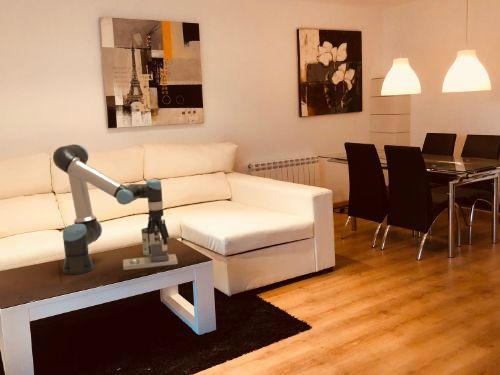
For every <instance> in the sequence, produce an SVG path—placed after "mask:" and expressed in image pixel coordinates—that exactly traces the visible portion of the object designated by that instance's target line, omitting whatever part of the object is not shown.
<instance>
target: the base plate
mask: <svg viewBox="0 0 500 375" xmlns="http://www.w3.org/2000/svg"><path fill="white" fill-rule="evenodd" d="M122 264H123V265H122V267H123V269H122V270H123V271H128V270H136V269H137V270H138V269H144V268H145V269H146V268H153V267H163V266H172V265H178V258H177V256H176V253H172V254H169V259H167V260H165V261H159V262H154V261H151V260H150V256H146V257H145V256H143V257H135V258H126V259H123V260H122Z"/></svg>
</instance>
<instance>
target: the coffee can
mask: <svg viewBox="0 0 500 375" xmlns="http://www.w3.org/2000/svg"><path fill="white" fill-rule="evenodd" d="M140 231H141V238H142V239H141V240H142V253H143V256H150V255H151V246H150V238H149V233H148V232H147V227H143V228H141V230H140ZM154 232H155V233H154V236H155V244H159V243H161V234H160V232H159V229H158V228H157V227H155V230H154Z"/></svg>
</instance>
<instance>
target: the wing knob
mask: <svg viewBox="0 0 500 375" xmlns="http://www.w3.org/2000/svg"><path fill="white" fill-rule="evenodd" d="M169 255H170V254H169V253H168V250H165V251H162V242H160V243H159V244H151V255H149V257H150V260H151V261H154V262H159V261H165V260H167V259H169Z"/></svg>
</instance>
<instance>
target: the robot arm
mask: <svg viewBox="0 0 500 375" xmlns="http://www.w3.org/2000/svg"><path fill="white" fill-rule="evenodd" d="M52 161H53V163H54V165H55V167H57V168H58V169H59V170H61V171H63V173H65V174H67V175H68V181H69V185H70V186H69V187H70V190H71V195H72V200H73V206H74V212H75V219H74V221H73V222H74V224H70V225H67V226H65V227H64V228H63V230H62V239H63V240H62V241H63V248H64V257H65V258H64V261H63V266H62V272H63V273H64V274H66V275H79V274H80V275H81V274H84V273H85V274H86V273H88V272H90V271H92V270H93V269H94V263H93V262H94V261H93V260H92V259H91V256H90V254H89V245H91V244H92V243H95V242H96V241H97V240H98V239H99V238H101V236H102V233H103V226H102V225H101V223H100V222H99V221H98V220H97V216H95V215H94V214H93V208H92V204H91V199H90V194H89V193H90V192H89V187H88V184H91V186H94V187H95V188H97V189H98V190H101V191H103V192H105V193H107V194H108V195H110V196H112V197H113V198H115V199H116V201H117V202H118V203H119V204H120V205H123V206H124V205H128V204H130V203H132V202H134V201H136V200H137V199H138V200H139V199H147V205H148V206H147V208H148V222H147V227H146V228H147V232H148V233H149V238H150V246H151V244H155V236H154V233H155V232H154V230H155V227H157V228H158V229H159V232H160V241H161V243H162V251H165V250H167V251H168V239H169V238H170V234H169V231H168V229H167V225H166V220H165V219H162V217H163V216H164V209H163V207H164V206H163V205H164V204H163V203H164V201H163V186H162V181H161V180H160V179H148V180H147V181H146V183H131V184H130V183H129V184H126V185H123V184H122V183H120V182H119V181H117V180H115V179H113V178H111V177H109V176H108V175H106V174H105V173H102V172H101V171H99V170H97V169H95V168H94V167H92V166H90V165H88V164H87V163H88V161H89V153H88V150H87V149H86V148H85V147H84V146H82V145H81V144H74V143H73V144H68V145H64V146H59V147H58V148H56V149H55V150H54V152H53V155H52Z"/></svg>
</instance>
